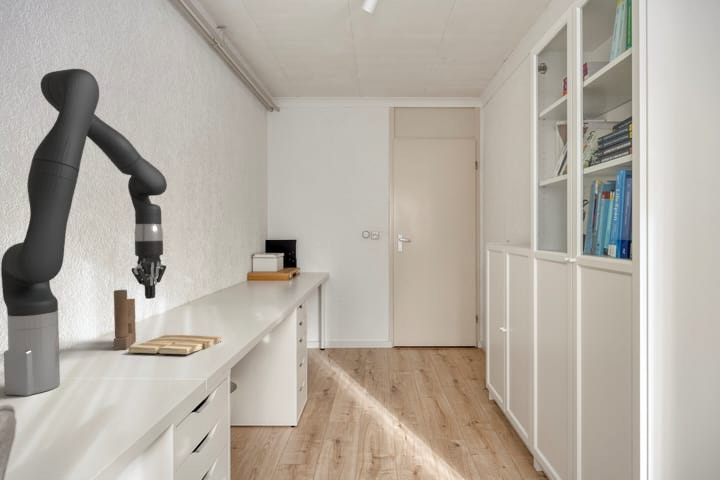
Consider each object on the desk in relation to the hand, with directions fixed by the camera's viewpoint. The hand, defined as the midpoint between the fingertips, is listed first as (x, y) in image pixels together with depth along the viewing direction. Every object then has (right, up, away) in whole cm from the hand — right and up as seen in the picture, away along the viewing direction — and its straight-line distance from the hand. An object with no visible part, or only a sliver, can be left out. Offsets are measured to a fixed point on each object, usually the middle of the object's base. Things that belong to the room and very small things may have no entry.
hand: (150, 298), depth 130 cm
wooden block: (-12, -16, +8) cm, 22 cm away
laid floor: (+7, -16, +9) cm, 19 cm away
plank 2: (+10, -15, -1) cm, 18 cm away
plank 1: (0, -16, +1) cm, 16 cm away
